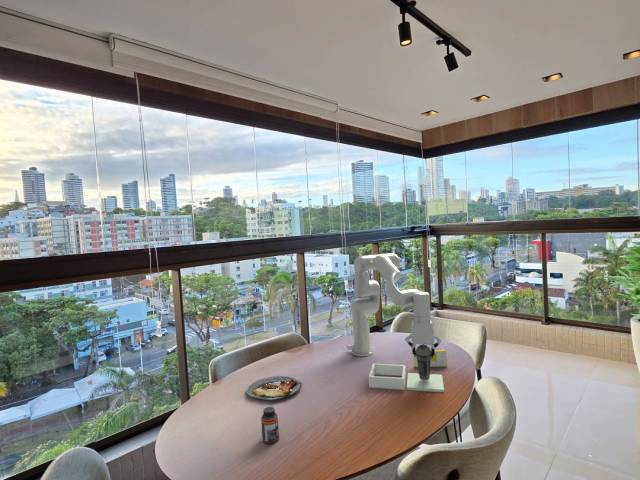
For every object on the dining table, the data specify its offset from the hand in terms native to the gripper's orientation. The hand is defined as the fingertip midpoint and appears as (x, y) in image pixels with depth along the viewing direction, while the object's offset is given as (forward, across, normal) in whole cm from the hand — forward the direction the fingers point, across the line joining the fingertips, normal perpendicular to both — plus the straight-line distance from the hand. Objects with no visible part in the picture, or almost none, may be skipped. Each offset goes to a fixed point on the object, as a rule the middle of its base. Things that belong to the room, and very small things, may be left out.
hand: (423, 356), depth 168 cm
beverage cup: (+11, 0, 0) cm, 11 cm away
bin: (+13, -17, 0) cm, 21 cm away
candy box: (+13, +3, +21) cm, 25 cm away
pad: (+13, 0, 0) cm, 13 cm away
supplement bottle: (+13, -54, -55) cm, 78 cm away
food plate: (+14, -68, -18) cm, 71 cm away
